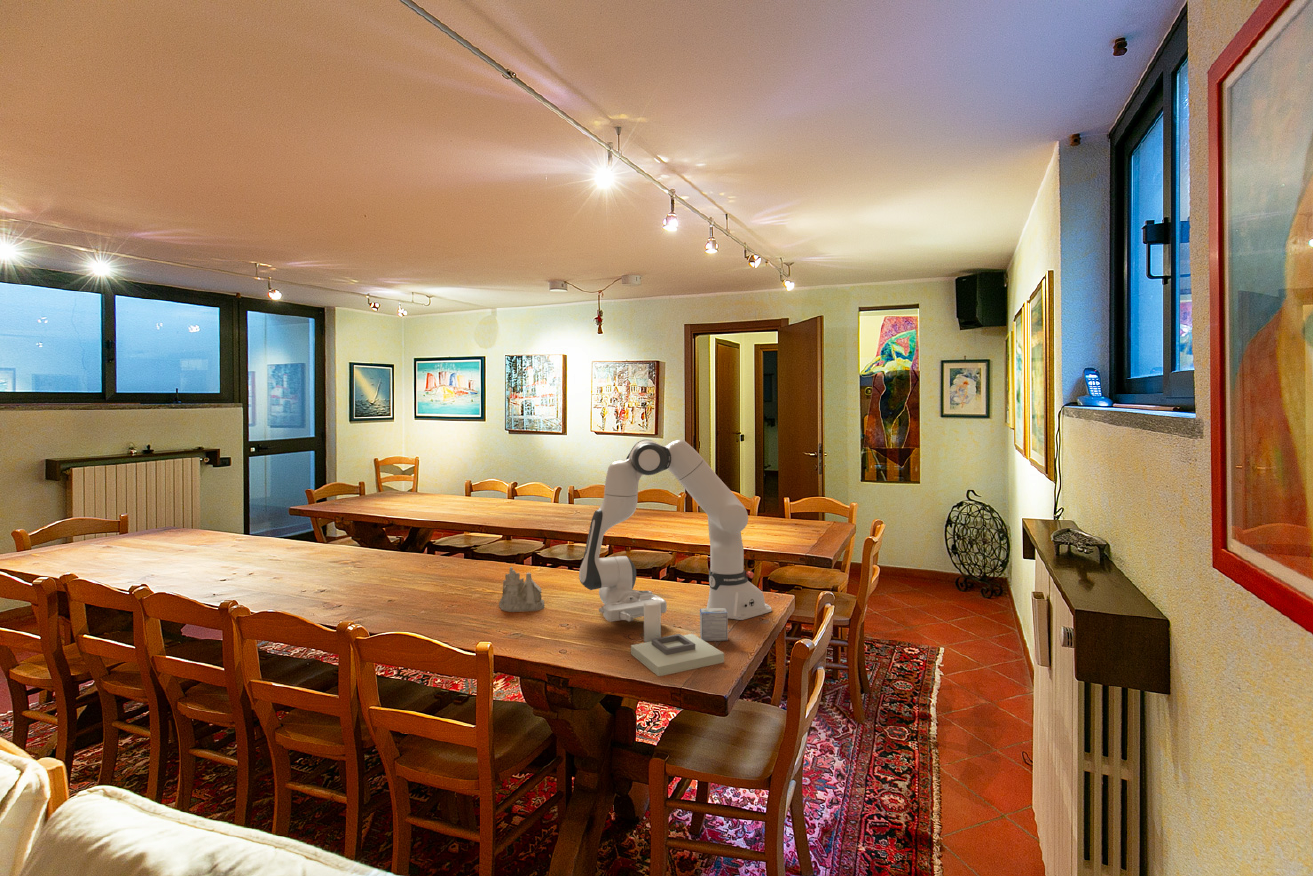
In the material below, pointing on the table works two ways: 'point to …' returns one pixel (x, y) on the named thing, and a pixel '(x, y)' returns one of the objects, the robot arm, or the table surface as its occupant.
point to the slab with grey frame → (676, 654)
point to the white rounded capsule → (652, 621)
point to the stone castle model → (520, 593)
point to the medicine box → (714, 624)
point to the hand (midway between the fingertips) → (645, 616)
